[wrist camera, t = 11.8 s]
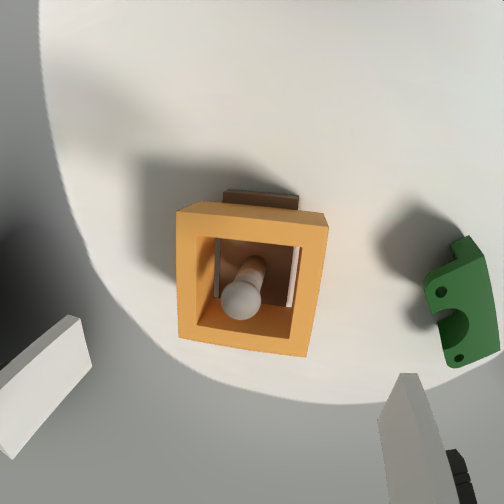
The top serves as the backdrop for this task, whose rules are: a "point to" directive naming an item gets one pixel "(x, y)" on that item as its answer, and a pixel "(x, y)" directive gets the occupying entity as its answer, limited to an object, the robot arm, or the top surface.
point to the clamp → (464, 305)
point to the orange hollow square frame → (268, 316)
